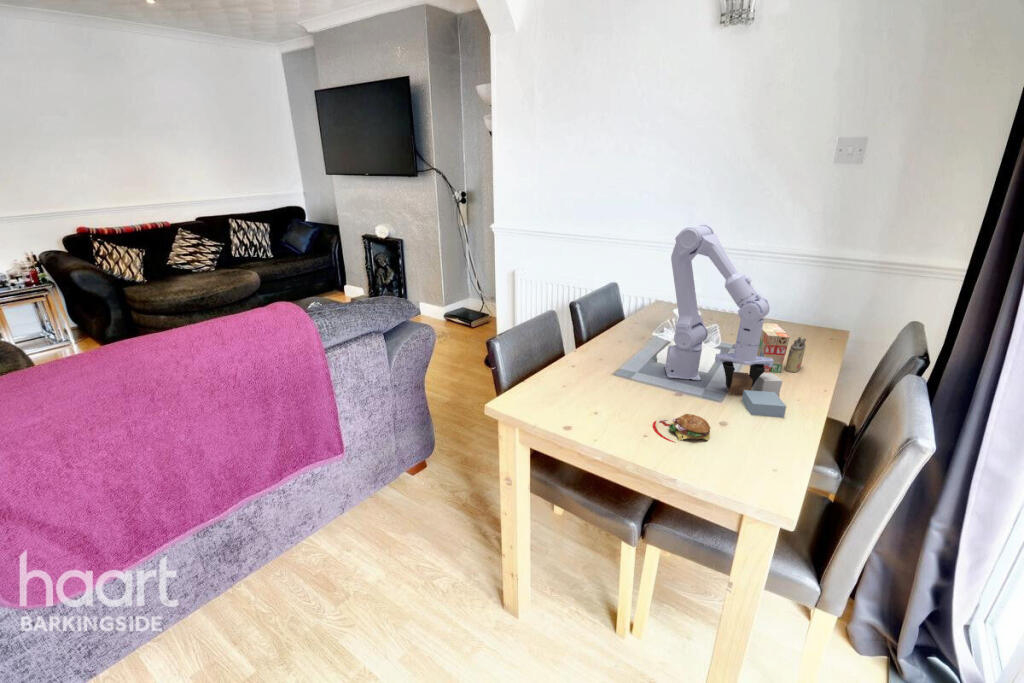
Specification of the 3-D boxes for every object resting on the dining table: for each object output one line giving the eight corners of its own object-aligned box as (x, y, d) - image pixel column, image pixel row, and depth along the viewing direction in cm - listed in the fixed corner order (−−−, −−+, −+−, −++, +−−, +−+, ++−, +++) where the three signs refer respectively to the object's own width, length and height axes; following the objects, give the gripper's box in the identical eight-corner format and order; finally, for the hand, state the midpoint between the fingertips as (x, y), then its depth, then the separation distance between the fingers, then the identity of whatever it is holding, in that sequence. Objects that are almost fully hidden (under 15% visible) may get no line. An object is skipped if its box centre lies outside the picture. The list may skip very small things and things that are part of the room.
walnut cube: (730, 394, 134) (733, 378, 132) (725, 387, 138) (729, 371, 137) (749, 396, 133) (752, 380, 131) (744, 388, 138) (747, 372, 136)
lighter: (795, 373, 148) (803, 343, 145) (782, 370, 151) (789, 340, 147) (801, 367, 153) (809, 337, 149) (788, 363, 155) (795, 334, 152)
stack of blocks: (742, 347, 169) (748, 313, 165) (761, 348, 168) (768, 315, 164) (759, 371, 149) (767, 334, 145) (781, 373, 148) (790, 336, 144)
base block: (750, 415, 124) (753, 403, 122) (741, 401, 131) (743, 389, 130) (783, 418, 123) (786, 406, 121) (772, 403, 130) (774, 392, 129)
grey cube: (760, 397, 133) (764, 380, 131) (751, 388, 138) (755, 373, 136) (778, 397, 133) (782, 380, 131) (769, 389, 138) (772, 373, 136)
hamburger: (699, 417, 123) (703, 396, 121) (722, 448, 110) (727, 425, 108) (645, 416, 122) (648, 395, 120) (662, 447, 109) (666, 424, 107)
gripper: (722, 345, 128) (714, 391, 133) (781, 349, 125) (770, 396, 130) (717, 336, 134) (709, 380, 139) (772, 340, 132) (762, 385, 137)
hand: (738, 387), depth 135 cm, fingers closed on walnut cube, 5 cm apart
